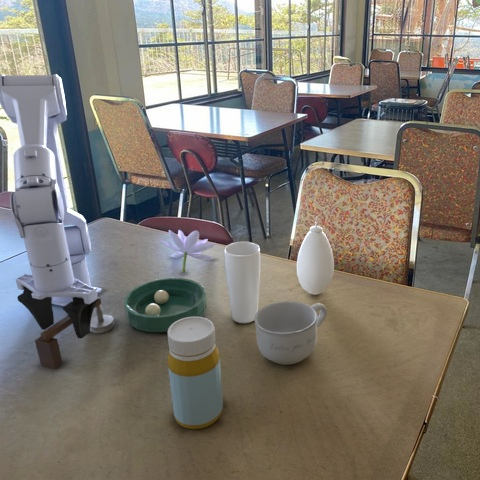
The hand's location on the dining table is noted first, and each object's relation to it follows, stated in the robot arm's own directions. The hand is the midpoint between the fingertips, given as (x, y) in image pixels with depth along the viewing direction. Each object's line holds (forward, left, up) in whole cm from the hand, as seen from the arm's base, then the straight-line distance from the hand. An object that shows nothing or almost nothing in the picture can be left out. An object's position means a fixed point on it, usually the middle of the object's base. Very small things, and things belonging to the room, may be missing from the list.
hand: (65, 330), depth 82 cm
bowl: (+9, +16, -4) cm, 19 cm away
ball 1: (+8, +13, -2) cm, 15 cm away
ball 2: (+6, +18, -2) cm, 19 cm away
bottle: (+29, -6, -4) cm, 30 cm away
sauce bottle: (+34, +34, -4) cm, 48 cm away
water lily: (+2, +37, -4) cm, 37 cm away
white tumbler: (+24, +20, -4) cm, 32 cm away
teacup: (+37, +13, -4) cm, 39 cm away
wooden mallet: (0, +3, -4) cm, 5 cm away
